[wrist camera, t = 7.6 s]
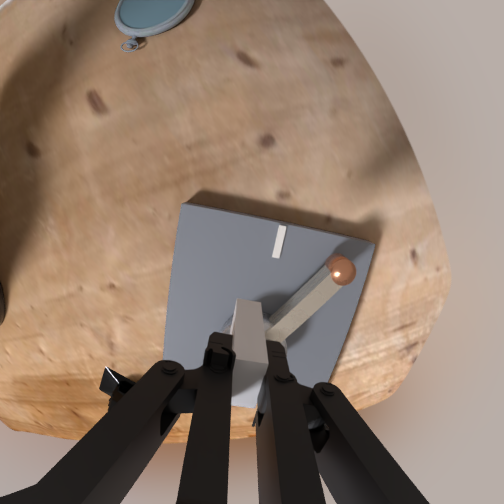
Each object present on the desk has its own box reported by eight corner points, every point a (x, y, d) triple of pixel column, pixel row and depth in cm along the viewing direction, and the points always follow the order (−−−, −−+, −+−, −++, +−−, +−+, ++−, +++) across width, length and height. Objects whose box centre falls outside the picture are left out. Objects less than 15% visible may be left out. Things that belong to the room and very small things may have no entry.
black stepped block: (91, 385, 36) (78, 402, 32) (99, 353, 35) (85, 371, 30) (162, 422, 38) (155, 443, 33) (178, 395, 36) (171, 417, 32)
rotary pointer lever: (170, 371, 32) (160, 397, 27) (319, 230, 28) (332, 239, 23) (215, 403, 33) (211, 430, 28) (363, 277, 29) (381, 293, 24)
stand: (165, 374, 35) (161, 384, 33) (186, 202, 30) (180, 203, 28) (313, 398, 36) (316, 408, 33) (368, 240, 31) (376, 245, 28)
